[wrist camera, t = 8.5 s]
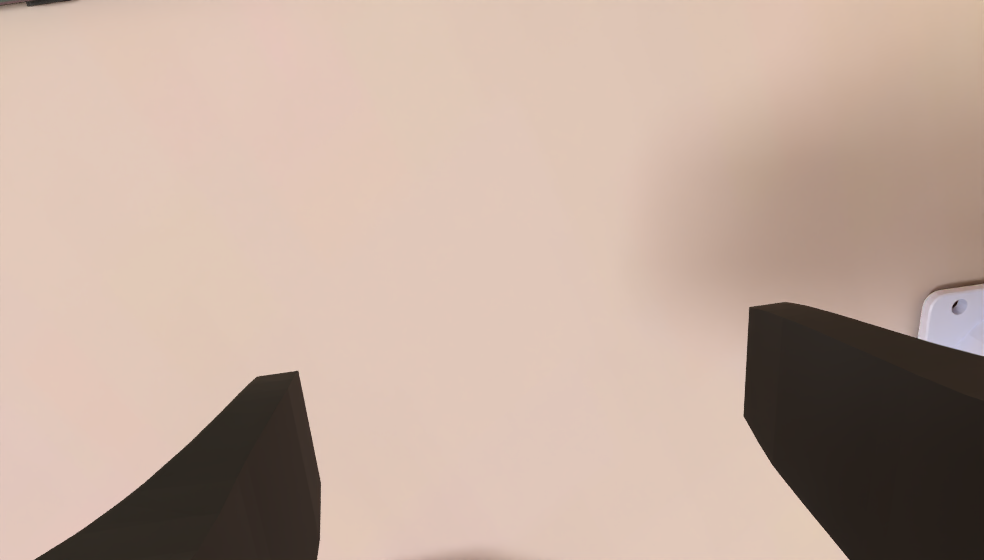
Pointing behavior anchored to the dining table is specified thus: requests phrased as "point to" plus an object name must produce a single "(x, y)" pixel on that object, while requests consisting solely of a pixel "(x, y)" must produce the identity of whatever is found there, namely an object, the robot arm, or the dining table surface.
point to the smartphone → (29, 2)
